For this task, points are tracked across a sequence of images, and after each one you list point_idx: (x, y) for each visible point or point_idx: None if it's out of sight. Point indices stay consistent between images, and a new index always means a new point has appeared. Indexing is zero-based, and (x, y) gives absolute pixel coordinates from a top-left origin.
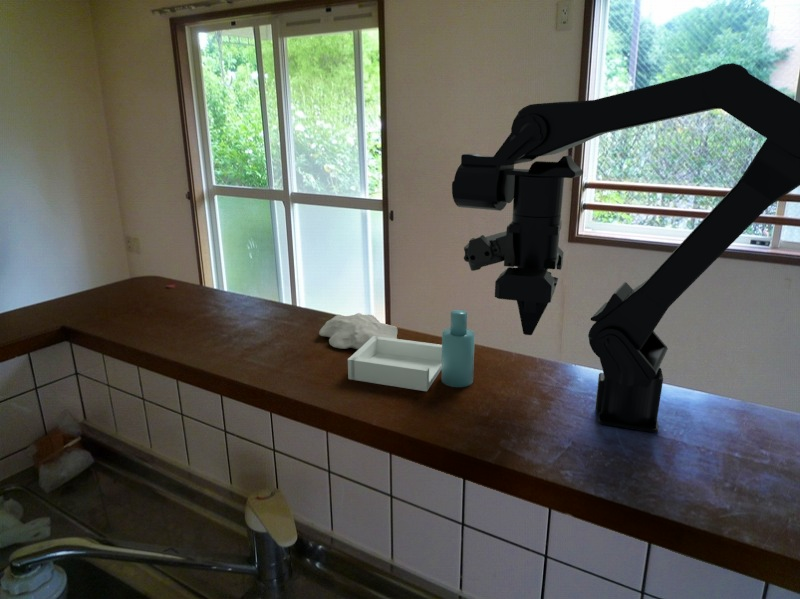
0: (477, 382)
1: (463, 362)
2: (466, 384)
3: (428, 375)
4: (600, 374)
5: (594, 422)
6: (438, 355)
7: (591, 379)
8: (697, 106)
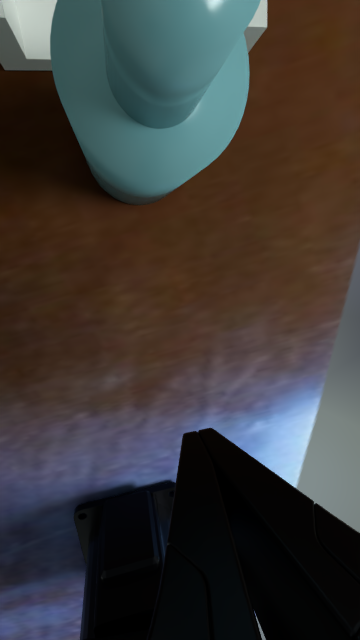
0: (149, 218)
1: (93, 168)
2: (108, 193)
3: (6, 38)
4: (143, 566)
5: (81, 494)
6: None
7: (265, 443)
8: None
